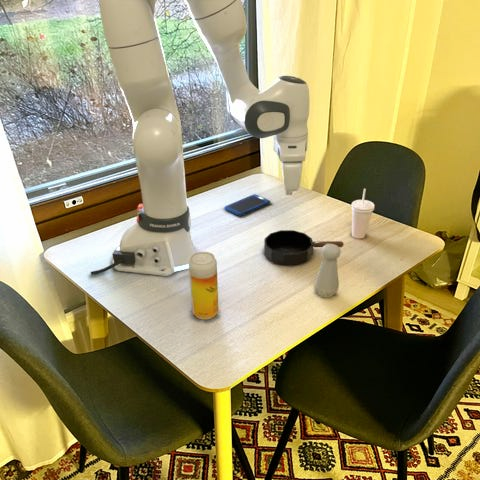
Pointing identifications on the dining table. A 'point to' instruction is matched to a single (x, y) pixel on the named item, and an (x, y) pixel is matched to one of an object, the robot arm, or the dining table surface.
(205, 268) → the glass of yellow beer
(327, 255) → the salt shaker
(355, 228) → the smoothie
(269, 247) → the pan
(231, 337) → the dining table surface
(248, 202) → the cell phone
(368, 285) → the dining table surface
